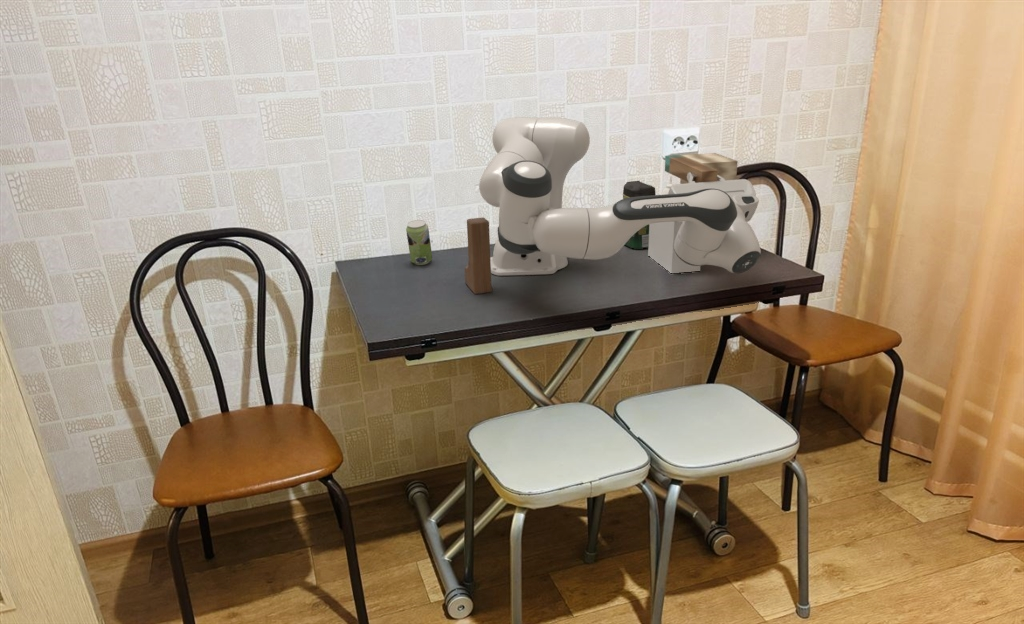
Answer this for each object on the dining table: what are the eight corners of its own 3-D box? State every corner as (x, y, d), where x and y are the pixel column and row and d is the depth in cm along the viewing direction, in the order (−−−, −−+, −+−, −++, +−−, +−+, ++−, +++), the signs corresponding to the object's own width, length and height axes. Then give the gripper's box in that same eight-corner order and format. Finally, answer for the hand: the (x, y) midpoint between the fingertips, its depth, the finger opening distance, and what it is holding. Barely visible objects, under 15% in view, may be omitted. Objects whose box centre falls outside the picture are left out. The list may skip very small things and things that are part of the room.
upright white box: (671, 274, 194) (674, 217, 188) (648, 256, 208) (650, 203, 203) (700, 271, 195) (704, 215, 190) (674, 254, 210) (678, 201, 204)
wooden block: (465, 283, 191) (461, 214, 184) (481, 281, 192) (479, 212, 186) (474, 294, 183) (471, 223, 177) (492, 292, 184) (489, 221, 178)
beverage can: (434, 259, 210) (431, 217, 206) (429, 267, 204) (426, 224, 199) (412, 259, 211) (409, 217, 207) (406, 267, 204) (403, 224, 200)
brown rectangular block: (700, 188, 177) (701, 171, 176) (664, 171, 198) (665, 155, 196) (716, 187, 178) (717, 170, 177) (678, 170, 198) (679, 154, 197)
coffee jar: (617, 242, 221) (618, 180, 214) (640, 239, 224) (643, 177, 217) (633, 251, 213) (635, 186, 206) (657, 248, 215) (660, 184, 208)
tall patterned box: (695, 258, 206) (702, 163, 196) (676, 245, 218) (681, 155, 208) (729, 254, 208) (737, 161, 198) (708, 242, 220) (715, 152, 210)
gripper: (675, 226, 174) (657, 186, 182) (756, 219, 177) (735, 180, 186) (682, 206, 169) (663, 166, 177) (765, 199, 172) (743, 160, 181)
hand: (700, 173), depth 181 cm, fingers closed on brown rectangular block, 4 cm apart
